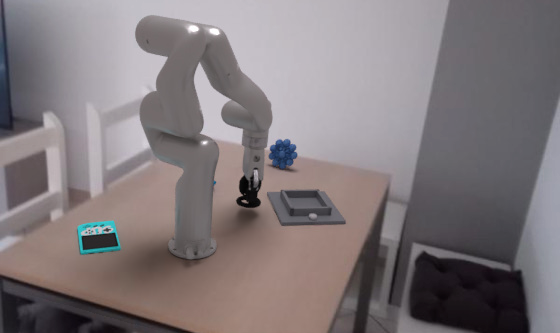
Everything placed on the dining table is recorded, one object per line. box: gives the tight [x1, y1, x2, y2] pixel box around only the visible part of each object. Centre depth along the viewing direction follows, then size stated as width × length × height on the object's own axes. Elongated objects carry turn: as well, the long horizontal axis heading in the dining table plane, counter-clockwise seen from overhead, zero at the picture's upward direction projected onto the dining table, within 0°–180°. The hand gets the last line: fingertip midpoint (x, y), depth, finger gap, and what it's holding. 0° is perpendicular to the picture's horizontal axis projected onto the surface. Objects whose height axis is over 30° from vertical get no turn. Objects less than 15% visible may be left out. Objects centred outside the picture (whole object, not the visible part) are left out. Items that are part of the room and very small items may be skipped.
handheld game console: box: [76, 220, 122, 256], centre depth 144 cm, size 10×16×1 cm, turn 22°
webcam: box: [236, 174, 263, 209], centre depth 162 cm, size 8×8×10 cm
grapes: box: [268, 138, 298, 170], centre depth 201 cm, size 12×7×12 cm, turn 64°
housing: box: [266, 188, 347, 226], centre depth 171 cm, size 22×20×4 cm
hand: (249, 196), depth 163 cm, fingers closed on webcam, 6 cm apart
